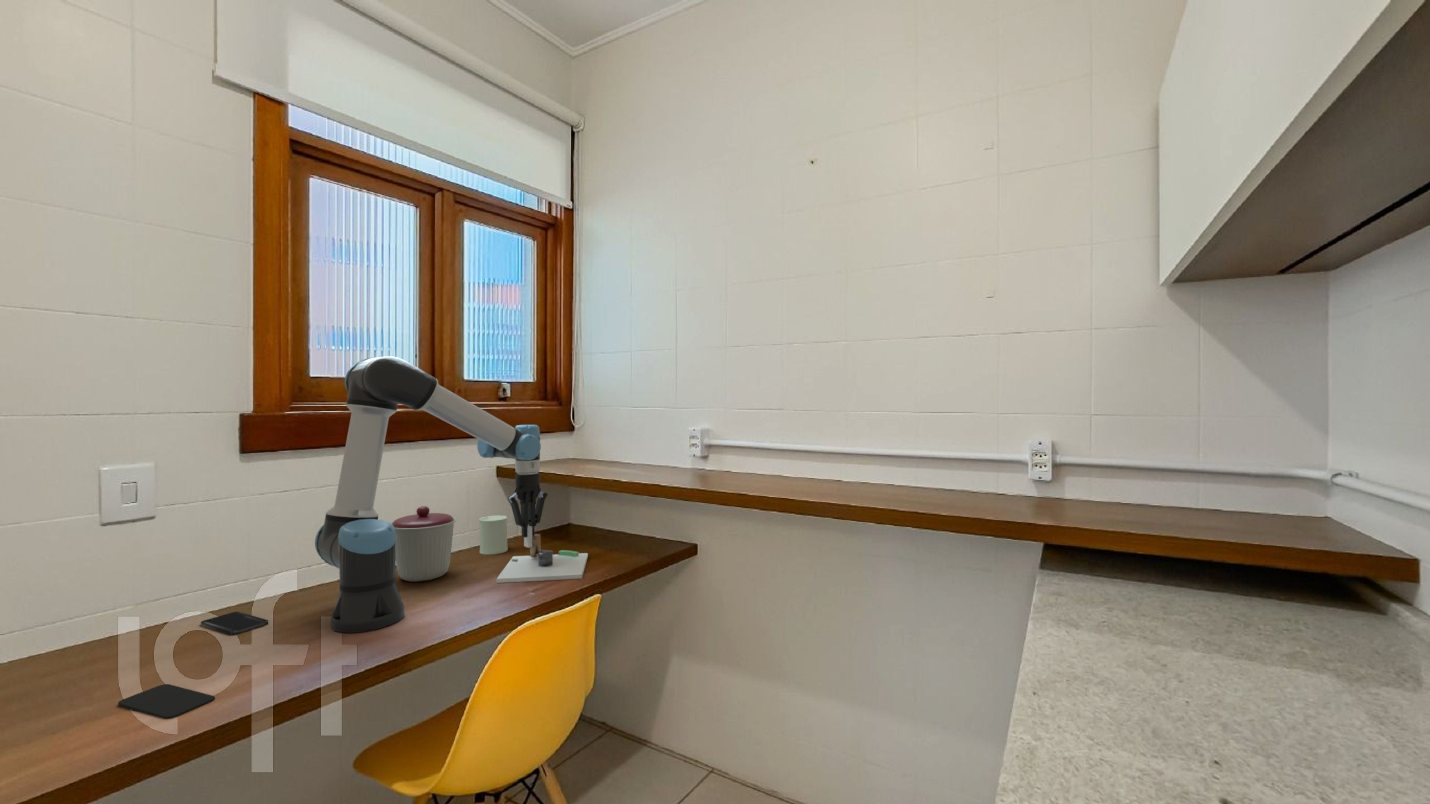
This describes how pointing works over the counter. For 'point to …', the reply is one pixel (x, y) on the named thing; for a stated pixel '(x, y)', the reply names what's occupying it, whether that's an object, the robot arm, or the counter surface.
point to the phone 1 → (166, 701)
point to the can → (493, 535)
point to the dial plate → (544, 568)
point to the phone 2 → (234, 623)
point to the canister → (423, 544)
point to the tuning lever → (540, 552)
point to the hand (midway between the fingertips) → (528, 546)
